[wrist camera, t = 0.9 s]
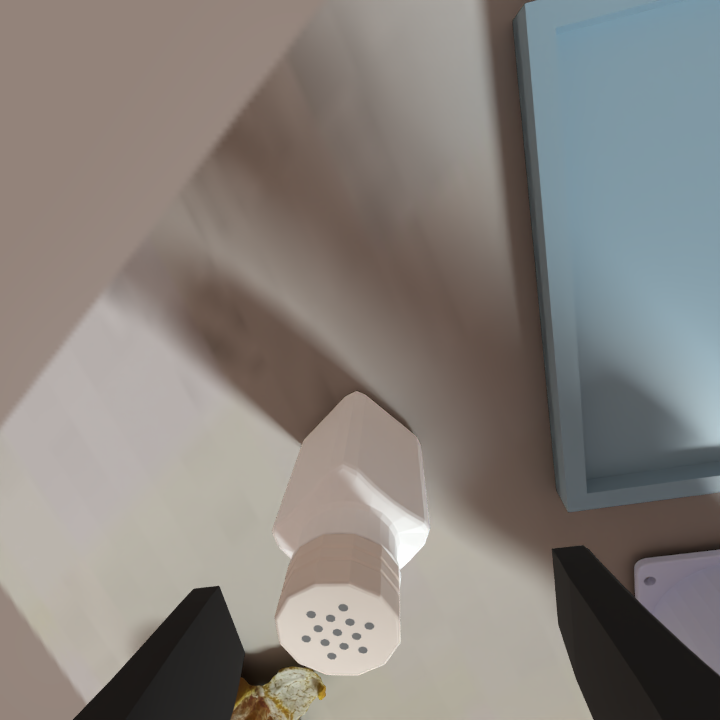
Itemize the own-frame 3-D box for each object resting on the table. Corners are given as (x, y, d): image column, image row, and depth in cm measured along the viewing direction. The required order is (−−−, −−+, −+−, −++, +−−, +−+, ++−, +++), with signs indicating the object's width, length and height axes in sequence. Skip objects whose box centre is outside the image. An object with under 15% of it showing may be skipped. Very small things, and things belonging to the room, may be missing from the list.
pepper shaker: (425, 437, 20) (452, 632, 11) (365, 494, 22) (346, 710, 13) (355, 380, 20) (326, 540, 11) (297, 442, 21) (226, 632, 12)
